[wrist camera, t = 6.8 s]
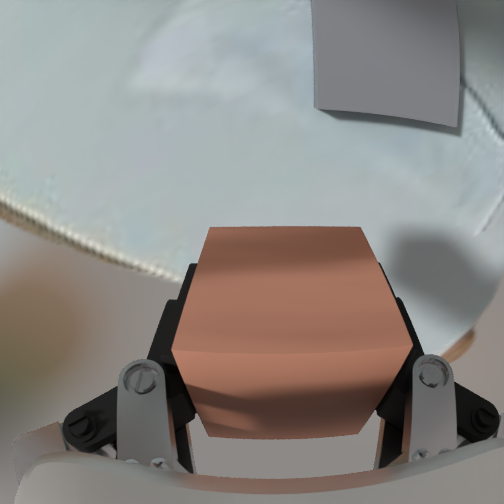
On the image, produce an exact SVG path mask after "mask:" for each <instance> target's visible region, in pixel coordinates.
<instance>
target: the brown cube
mask: <svg viewBox="0 0 504 504" xmlns="http://www.w3.org/2000/svg"><path fill="white" fill-rule="evenodd" d="M412 346H413V344H412V341H411V338H410V336H409V333H408V331H407V328H406V325H405V323H404V320H403V318H402V316H401V313H400V311H399V308H398V306H397V304H396V301H395V299H394V297H393V294H392V292H391V290H390V287H389V285H388V283H387V281H386V279H385V276H384V274H383V272H382V270H381V268H380V266H379V264H378V261H377V259H376V257H375V255H374V253H373V251H372V249H371V247H370V245H369V243H368V241H367V239H366V237H365V235H364V233H363V231H362V229H361V227H323V226H272V227H210V228H209V231H208V234H207V237H206V240H205V243H204V246H203V249H202V252H201V255H200V258H199V261H198V264H197V267H196V270H195V273H194V277H193V280H192V283H191V286H190V289H189V292H188V296H187V299H186V302H185V305H184V308H183V312H182V315H181V318H180V322H179V325H178V328H177V332H176V335H175V339H174V342H173V345H172V349H171V350H172V353H173V356H174V358H175V361H176V363H177V366H178V368H179V371H180V373H181V376H182V378H183V381H184V383H185V385H186V388H187V390H188V392H189V395H190V397H191V399H192V402H193V404H194V406H195V408H196V411H197V413H198V415H199V417H200V419H201V421H202V424H203V426H204V428H205V430H206V432H207V434H208V436H209V437H221V438H237V439H239V438H240V439H307V438H323V437H335V436H345V435H353V434H358V433H359V432H360V430H361V429H362V427H363V426H364V425H365V423H366V422H367V421H368V419H369V418H370V416H371V415H372V413H373V412H374V410H375V409H376V407H377V406H378V404H379V403H380V401H381V400H382V398H383V397H384V395H385V393H386V392H387V390H388V389H389V387H390V385H391V384H392V382H393V380H394V379H395V377H396V375H397V374H398V372H399V370H400V368H401V367H402V365H403V363H404V361H405V359H406V358H407V356H408V354H409V352H410V350H411V348H412Z"/></svg>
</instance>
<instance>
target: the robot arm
mask: <svg viewBox="0 0 504 504" xmlns="http://www.w3.org/2000/svg"><path fill="white" fill-rule="evenodd" d="M197 264H198V263H191V264H190V265H189V268H188V270H187V273H186V276H185V279H184V282H183V284H182V287H181V290H180V293H179V296H178V299H177V300H168V301H167V303H166V306H165V309H164V311H163V314H162V317H161V320H160V322H159V325H158V328H157V331H156V334H155V336H154V339H153V342H152V345H151V348H150V351H149V354H148V357H147V359H140V360H136V361H133V362H131V363H129V364H128V365H127V366H126V367H125V368H123V370H122V371H121V373H120V375H119V379H118V386H117V387H115V388H113V389H111V390H109V391H108V392H106V393H104V394H102V395H100V396H99V397H97V398H95V399H93V400H92V401H89V402H88V403H86V404H84V405H82V406H80V407H78V408H76V409H75V410H73V411H72V412H70V413H69V414H68V415H67V417H66V418H65V420H64V423H61V424H60V423H59V422H55V423H52V424H49V425H47V426H44V427H41V428H39V429H36V430H33V431H30V432H27V433H25V434H21V435H19V436H18V437H16V438H15V440H14V441H13V444H12V457H13V462H14V466H15V471H16V475H17V479H18V482H19V489H18V491H17V495H16V498H15V502H14V504H504V413H502V414H501V415H499V414H498V411H497V409H496V408H495V406H494V405H493V404H492V403H490V402H489V401H487V400H485V399H484V398H482V397H480V396H478V395H477V394H475V393H473V392H472V391H470V390H468V389H466V388H465V387H462V386H461V385H459V384H458V383H456V382H454V376H453V371H452V368H451V366H450V365H449V363H448V362H447V361H446V360H445V359H443V358H441V357H440V356H437V355H433V354H428V355H424V352H423V349H422V347H421V344H420V342H419V339H418V337H417V334H416V332H415V329H414V327H413V325H412V322H411V320H410V318H409V315H408V313H407V311H406V308H405V306H404V304H403V302H402V300H401V299H400V298H399V297H397V298H396V296H395V294H394V292H393V290H392V288H391V285H390V283H389V281H388V279H387V277H386V275H385V272H384V270H383V268H382V266H381V264H380V263H379V262H378V264H379V266H380V268H381V270H382V272H383V274H384V276H385V279H386V281H387V283H388V285H389V287H390V290H391V292H392V294H393V297H394V299H395V301H396V304H397V306H398V308H399V311H400V313H401V316H402V318H403V320H404V323H405V325H406V328H407V331H408V333H409V336H410V338H411V341H412V344H413V346H412V348H411V350H410V352H409V354H408V356H407V358H406V359H405V361H404V363H403V365H402V367H401V368H400V370H399V372H398V374H397V375H396V377H395V379H394V380H393V382H392V384H391V385H390V387H389V389H388V390H387V392H386V393H385V395H384V397H383V398H382V400H381V401H380V403H379V404H378V406H377V407H376V409H375V410H376V411H377V415H378V416H380V417H381V422H380V429H379V436H378V443H377V450H376V457H375V462H374V468H373V470H370V471H364V472H358V473H351V474H344V475H335V476H325V477H313V478H295V479H248V478H247V479H246V478H229V477H216V476H206V475H198V474H197V472H196V466H195V461H194V455H193V449H192V443H191V437H190V431H189V424H188V423H189V422H190V421H191V420H193V419H194V418H195V413H197V411H196V408H195V406H194V404H193V402H192V399H191V397H190V395H189V392H188V390H187V388H186V385H185V383H184V381H183V378H182V376H181V373H180V371H179V368H178V366H177V363H176V361H175V358H174V356H173V353H172V350H171V349H172V345H173V342H174V339H175V335H176V332H177V328H178V325H179V322H180V318H181V315H182V312H183V308H184V305H185V302H186V299H187V296H188V292H189V289H190V286H191V283H192V280H193V277H194V273H195V270H196V267H197Z"/></svg>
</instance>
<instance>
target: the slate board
mask: <svg viewBox="0 0 504 504" xmlns="http://www.w3.org/2000/svg"><path fill="white" fill-rule="evenodd" d="M311 9H312V28H313V57H314V107H315V108H316V109H323V110H339V111H352V112H363V113H372V114H381V115H388V116H396V117H402V118H409V119H415V120H421V121H426V122H431V123H437V124H441V125H446V126H451V127H455V128H457V119H458V107H459V88H460V45H459V27H458V16H457V7H456V0H311Z"/></svg>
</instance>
